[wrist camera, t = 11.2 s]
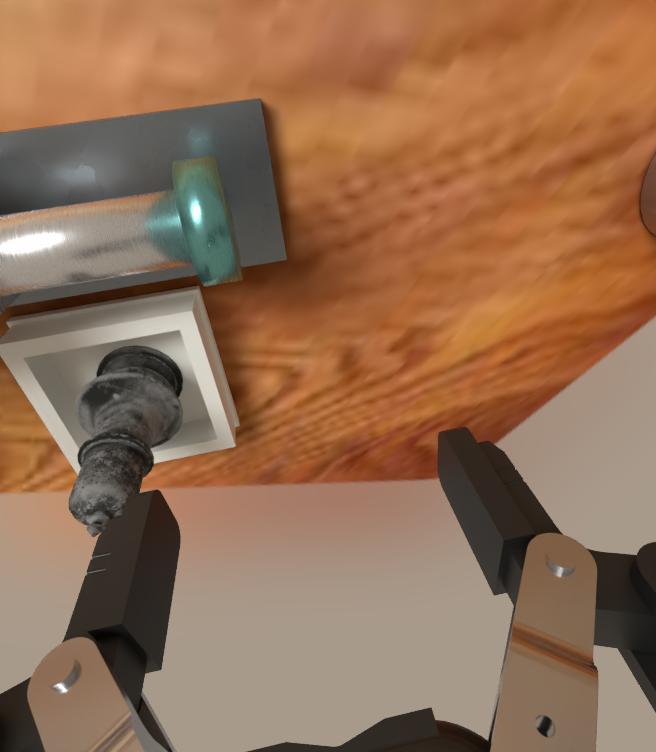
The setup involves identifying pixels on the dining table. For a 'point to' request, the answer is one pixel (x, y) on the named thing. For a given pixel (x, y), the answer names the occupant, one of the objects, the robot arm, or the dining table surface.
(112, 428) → the dark grey turned piece
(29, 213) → the shaft
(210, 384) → the holder
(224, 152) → the bearing block
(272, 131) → the dining table surface
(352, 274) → the dining table surface
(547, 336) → the dining table surface
